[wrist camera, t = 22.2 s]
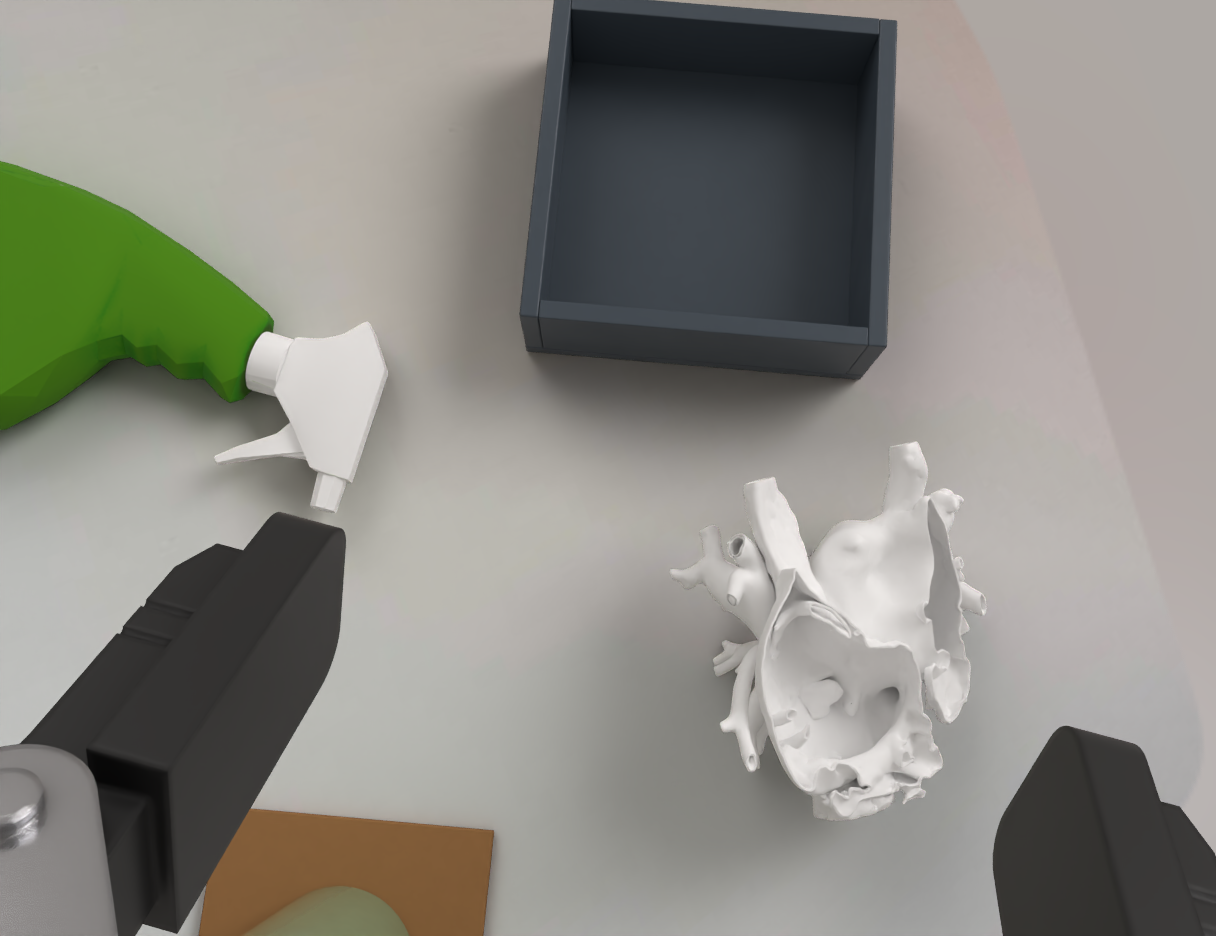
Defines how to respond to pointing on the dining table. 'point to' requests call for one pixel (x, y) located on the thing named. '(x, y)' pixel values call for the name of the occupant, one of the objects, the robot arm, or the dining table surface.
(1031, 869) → the robot arm
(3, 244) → the spray bottle
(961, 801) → the dining table surface
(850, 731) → the heart
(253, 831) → the cork mat
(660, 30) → the tray
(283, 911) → the canister
